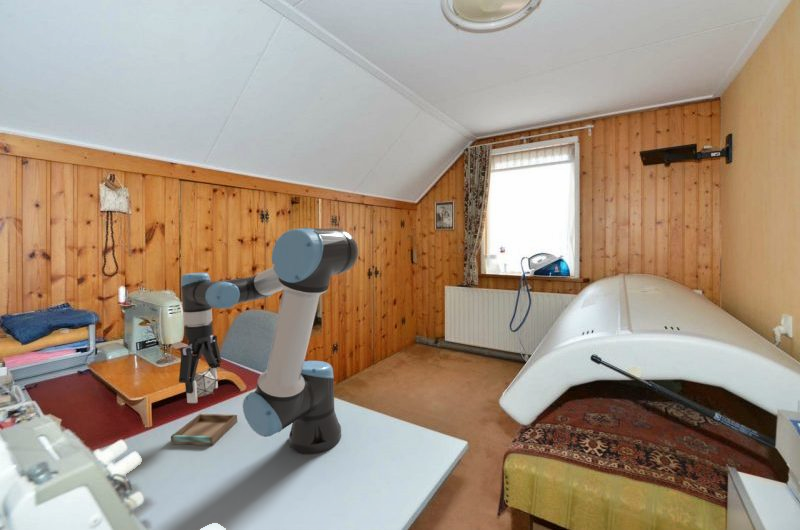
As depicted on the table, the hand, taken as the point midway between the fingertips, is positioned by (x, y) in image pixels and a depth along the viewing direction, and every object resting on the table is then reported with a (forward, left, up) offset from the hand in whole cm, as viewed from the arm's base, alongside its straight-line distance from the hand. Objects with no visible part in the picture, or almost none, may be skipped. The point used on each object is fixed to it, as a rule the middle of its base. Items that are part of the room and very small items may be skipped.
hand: (203, 394), depth 108 cm
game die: (0, 0, -1) cm, 1 cm away
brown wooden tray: (0, 0, -12) cm, 12 cm away
